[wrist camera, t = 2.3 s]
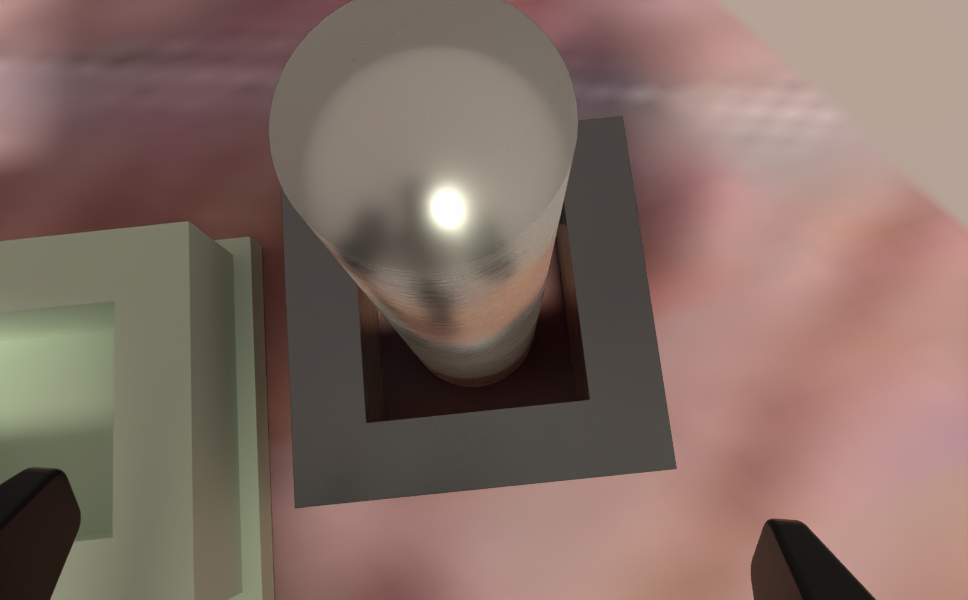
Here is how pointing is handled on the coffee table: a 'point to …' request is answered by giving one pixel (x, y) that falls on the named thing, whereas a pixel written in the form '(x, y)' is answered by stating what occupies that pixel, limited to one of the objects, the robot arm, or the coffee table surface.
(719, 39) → the coffee table surface
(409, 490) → the socket
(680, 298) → the coffee table surface
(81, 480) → the container
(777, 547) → the robot arm
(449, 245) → the grey cylinder
